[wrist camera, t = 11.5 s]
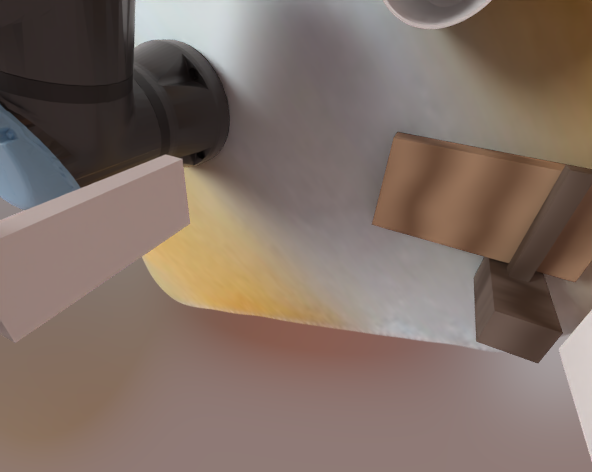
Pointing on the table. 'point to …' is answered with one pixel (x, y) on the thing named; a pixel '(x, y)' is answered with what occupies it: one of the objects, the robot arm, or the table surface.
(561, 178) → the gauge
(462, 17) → the cup
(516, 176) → the board
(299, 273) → the table surface
